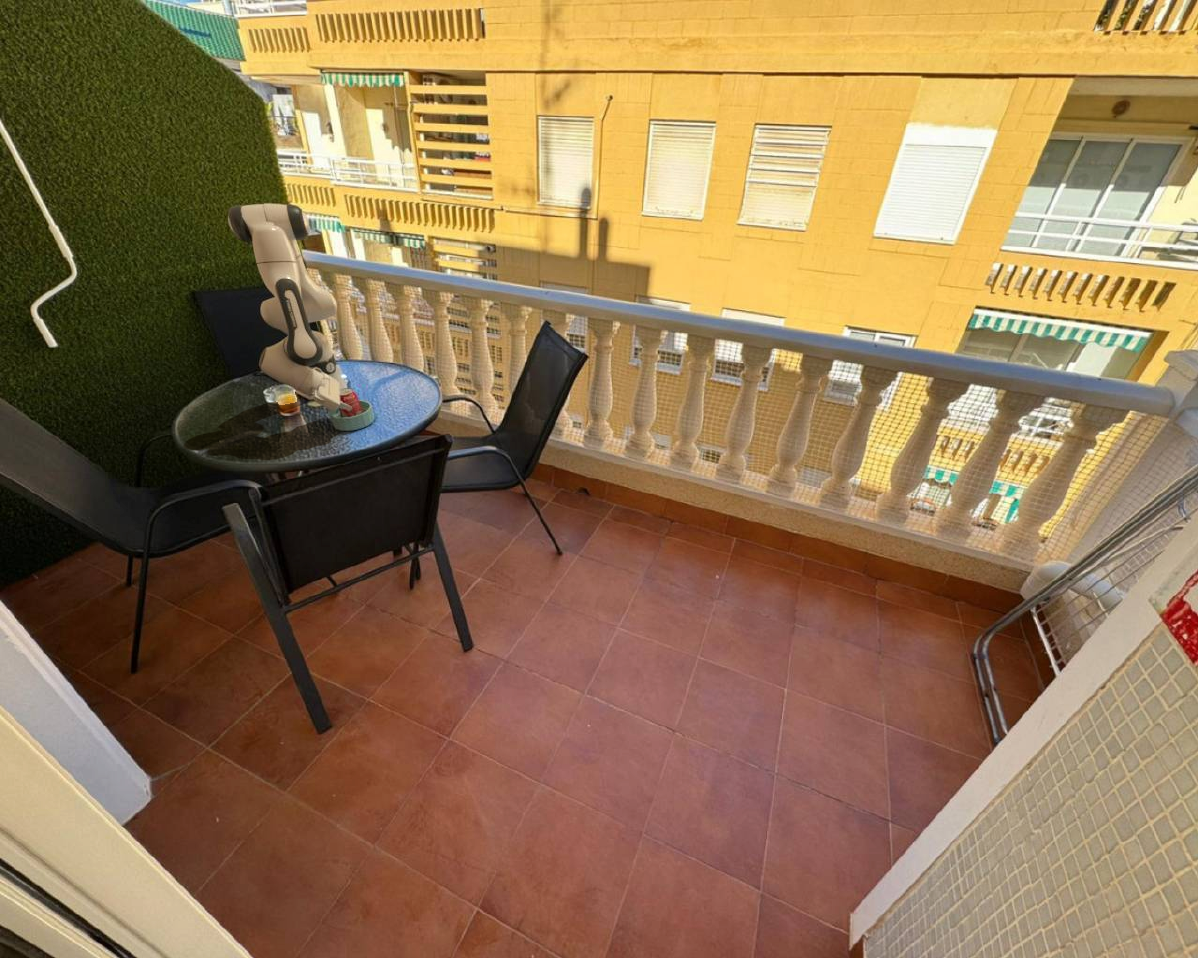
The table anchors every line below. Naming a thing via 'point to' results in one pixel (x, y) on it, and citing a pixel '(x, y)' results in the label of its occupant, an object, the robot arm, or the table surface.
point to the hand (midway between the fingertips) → (350, 403)
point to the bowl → (353, 418)
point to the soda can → (349, 398)
